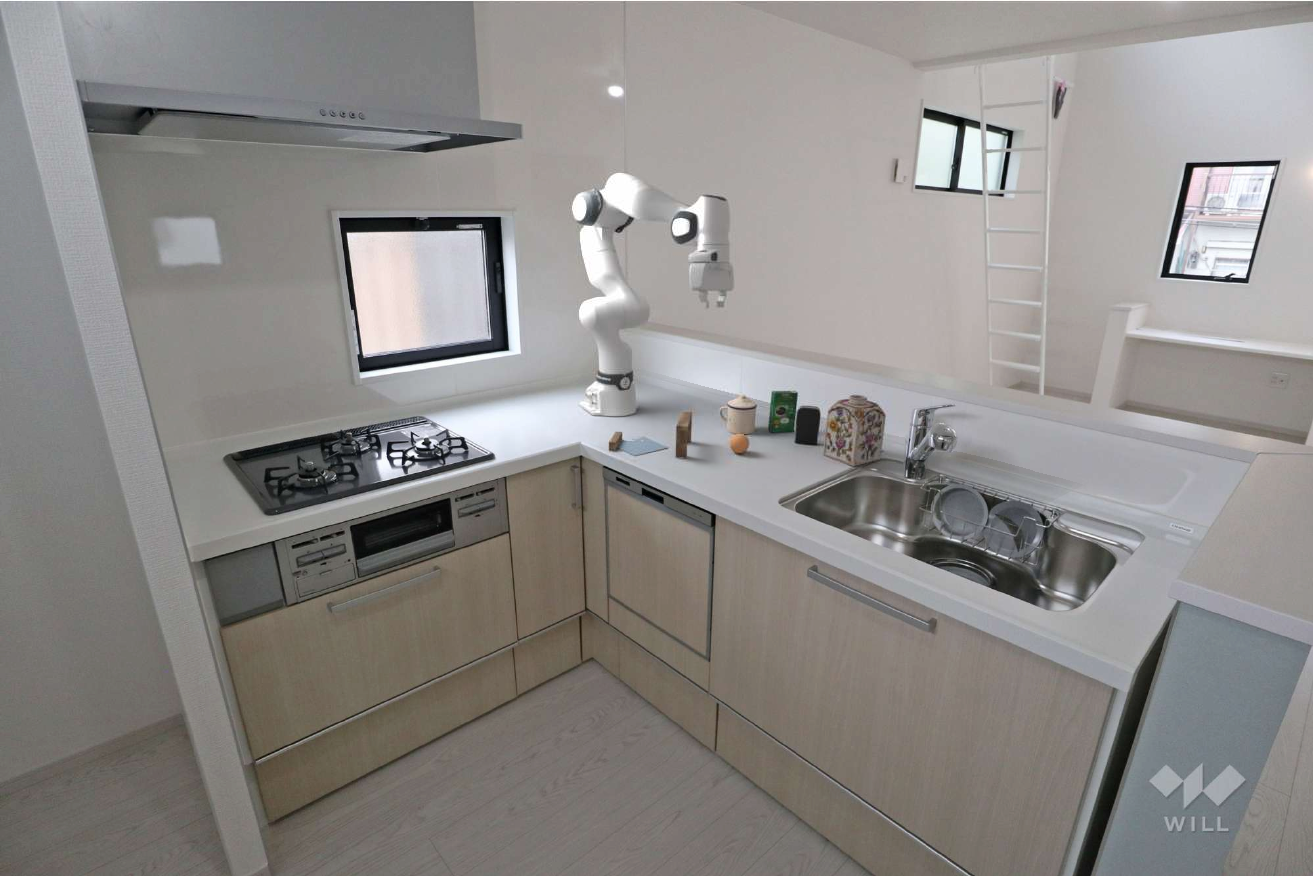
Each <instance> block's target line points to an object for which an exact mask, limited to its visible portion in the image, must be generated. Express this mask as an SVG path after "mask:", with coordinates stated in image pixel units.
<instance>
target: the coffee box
mask: <svg viewBox="0 0 1313 876" xmlns="http://www.w3.org/2000/svg"><path fill="white" fill-rule="evenodd" d="M798 393H799V392H797V391H796V390H772V391H771V396H770V404H769V405H770V406H769V416H768V428H767V430H768V431H767V432H769V431H770V432H771V433H772V434H774V433H773V432H777V433H794V432H795V428H796V415H797V407H798V406H797V405H798V397H799V394H798ZM770 432H769V433H770Z"/></svg>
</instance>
